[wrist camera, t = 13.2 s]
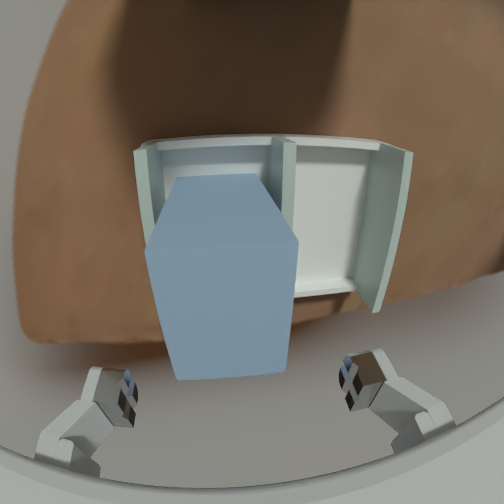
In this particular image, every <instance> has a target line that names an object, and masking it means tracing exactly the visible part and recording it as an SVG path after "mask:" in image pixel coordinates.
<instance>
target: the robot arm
mask: <svg viewBox="0 0 504 504" xmlns="http://www.w3.org/2000/svg"><path fill="white" fill-rule="evenodd" d="M343 362H344V366H342V367H341V368H340V371H339V383H340V386H341V389H342V390H343V391H345V392H346V393H347V395H346V397H345V400H346V402H347V405H348V407H349V410H350V411H355V410H359V409H364V408H368V407H369V409H370V410H372V411H373V412H374V413H375V414H376V415H378V416H379V417H380V418H381V419H382V420H384V421H385V422H386V423H387V424H388V425H390V426H391V427H392V428H393V429H394V430H396V431H397V432H398V433H399V435H398V436H397V437H396V438H395V439H394V440H393V441H392V443H391V446H392V448H393V451H394V453H395V454H392V455H389V456H387V457H384V458H381V459H378V460H375V461H372V462H369V463H366V464H362V465H359V466H356V467H352V468H348V469H345V470H341V471H337V472H333V473H330V474H325V475H320V476H315V477H311V478H306V479H300V480H294V481H288V482H281V483H274V484H266V485H257V486H245V487H229V488H179V487H162V486H151V485H142V484H134V483H127V482H121V481H115V480H109V479H104V478H99V477H100V468H101V467H100V466H99V464H97V463H96V462H95V461H93V460H92V459H91V458H90V457H91V456H92V454H93V453H94V452H95V451H96V449H97V448H98V447H99V446H100V444H101V443H102V442H103V440H104V439H105V438H106V437H107V435H108V434H109V433H110V431H111V430H112V429H113V428H114V426H120V427H132V428H134V421H135V414H136V413H135V412H134V410H133V408H134V407H135V406H136V405H137V401H138V390H137V386H136V384H135V382H134V381H133V380H131V373H130V372H129V370H127V369H114V368H104V367H91V369H90V370H89V373H88V376H87V379H86V382H85V386H84V389H83V392H82V395H81V399H80V400H76V401H75V402H74V403H73V404H72V405H70V406H69V407H68V408H67V409H66V410H65V411H64V412H63V413H62V414H61V415H59V416H58V417H57V418H56V419H55V420H54V421H53V422H52V423H51V424H49V425H48V426H47V427H46V428H45V429H44V430H43V431H42V432H41V435H40V438H39V441H38V445H37V449H36V453H35V457H34V459H32V458H29V457H27V456H24V455H21V454H19V453H16V452H14V451H12V450H9V449H7V448H5V447H2V446H0V504H504V397H503V398H502V399H500V400H498V401H497V402H495V403H494V404H492V405H491V406H490V407H488V408H486V409H485V410H483V411H481V412H479V413H478V414H476V415H474V416H473V417H471V418H469V419H468V420H466V421H464V422H462V423H460V424H459V425H457V426H456V424H455V422H454V420H453V418H452V417H451V415H450V413H449V411H448V410H447V407H446V406H445V404H444V402H442V401H441V400H439V399H437V398H436V397H434V396H432V395H431V394H429V393H427V392H426V391H424V390H422V389H421V388H419V387H417V386H416V385H414V384H412V383H410V382H409V381H407V380H406V379H404V378H403V377H398V376H397V374H396V372H395V370H394V368H393V367H392V365H391V363H390V361H389V360H388V358H387V356H386V354H385V353H384V351H383V349H381V348H378V349H374V350H367V351H363V352H358V353H353V354H348V355H346V356H345V357H344V360H343Z"/></svg>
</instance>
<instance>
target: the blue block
mask: <svg viewBox="0 0 504 504" xmlns="http://www.w3.org/2000/svg"><path fill="white" fill-rule="evenodd" d="M298 247H299V241H298V239H297V238H296V236H295V234H294V233H293V231H292V229H291V228H290V226H289V225H288V223H287V221H286V220H285V218H284V217H283V215H282V213H281V212H280V210H279V209H278V207H277V206H276V204H275V202H274V201H273V199H272V198H271V196H270V195H269V193H268V191H267V190H266V188H265V187H264V185H263V184H262V182H261V181H260V179H259V178H258V176H257V174H256V173H244V174H220V175H203V176H188V177H177V179H176V181H175V183H174V185H173V187H172V189H171V191H170V194H169V196H168V198H167V200H166V202H165V204H164V207H163V209H162V211H161V213H160V215H159V218H158V220H157V222H156V225H155V227H154V229H153V232H152V234H151V236H150V239H149V241H148V243H147V246H146V248H145V251H144V252H145V257H146V262H147V267H148V272H149V277H150V281H151V286H152V290H153V295H154V299H155V303H156V308H157V312H158V316H159V320H160V324H161V327H162V331H163V335H164V339H165V342H166V346H167V349H168V352H169V356H170V360H171V363H172V366H173V370H174V373H175V376H176V379H177V380H198V379H218V378H231V377H244V376H254V375H263V374H272V373H280V372H285V369H286V361H287V353H288V345H289V337H290V329H291V320H292V311H293V301H294V291H295V281H296V270H297V259H298Z"/></svg>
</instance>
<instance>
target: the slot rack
mask: <svg viewBox="0 0 504 504" xmlns="http://www.w3.org/2000/svg"><path fill="white" fill-rule="evenodd" d="M133 153H134V163H135V173H136V182H137V190H138V198H139V205H140V212H141V218H142V225H143V231H144V237H145V243H146V246H147V243H148V241H149V239H150V236H151V234H152V232H153V229H154V227H155V225H156V222H157V220H158V218H159V215H160V213H161V211H162V209H163V207H164V204H165V202H166V200H167V198H168V196H169V194H170V191H171V189H172V187H173V185H174V183H175V181H176V179H177V177H188V176H203V175H220V174H244V173H256V174H257V176H258V178H259V179H260V181H261V182H262V184H263V185H264V187H265V188H266V190H267V191H268V193H269V195H270V196H271V198H272V199H273V201H274V202H275V204H276V206H277V207H278V209H279V210H280V212H281V213H282V215H283V217H284V218H285V220H286V221H287V223H288V225H289V226H290V228H291V229H292V231H293V233H294V234H295V236H296V238H297V239H298V241H299V247H298V259H297V270H296V281H295V291H294V298H296V297H306V296H315V295H324V294H333V293H341V292H349V291H357V292H358V293H359V295H360V296H361V298H362V299H363V301H364V302H365V304H366V305H367V307H368V308H369V309H370V311H371V312H372V313H375V312H379V311H380V308H381V305H382V301H383V298H384V295H385V291H386V288H387V284H388V281H389V277H390V274H391V270H392V266H393V262H394V258H395V254H396V250H397V246H398V241H399V237H400V232H401V227H402V222H403V217H404V212H405V207H406V201H407V195H408V189H409V183H410V176H411V169H412V161H413V152H410V151H407V150H404V149H401V148H398V147H395V146H392V145H391V144H388V143H384V142H381V141H377V140H370V139H361V138H350V137H338V136H324V135H304V134H223V135H203V136H189V137H176V138H166V139H156V140H148V141H146V142H144V143H142V144H141V147H139V148H138V149H136V150H134V151H133Z"/></svg>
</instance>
